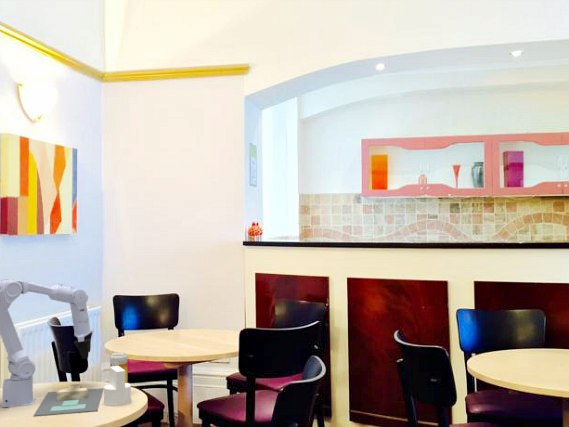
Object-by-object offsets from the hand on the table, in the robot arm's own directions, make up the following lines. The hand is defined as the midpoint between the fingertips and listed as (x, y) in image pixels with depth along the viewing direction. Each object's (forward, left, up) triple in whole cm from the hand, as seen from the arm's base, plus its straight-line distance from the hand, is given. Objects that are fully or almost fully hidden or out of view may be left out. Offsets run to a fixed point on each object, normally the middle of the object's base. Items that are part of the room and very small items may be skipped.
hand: (86, 355), depth 219 cm
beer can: (+12, -10, -13) cm, 21 cm away
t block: (-4, -9, -13) cm, 16 cm away
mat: (-4, -15, -13) cm, 20 cm away
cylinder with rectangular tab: (+12, -21, -13) cm, 28 cm away
